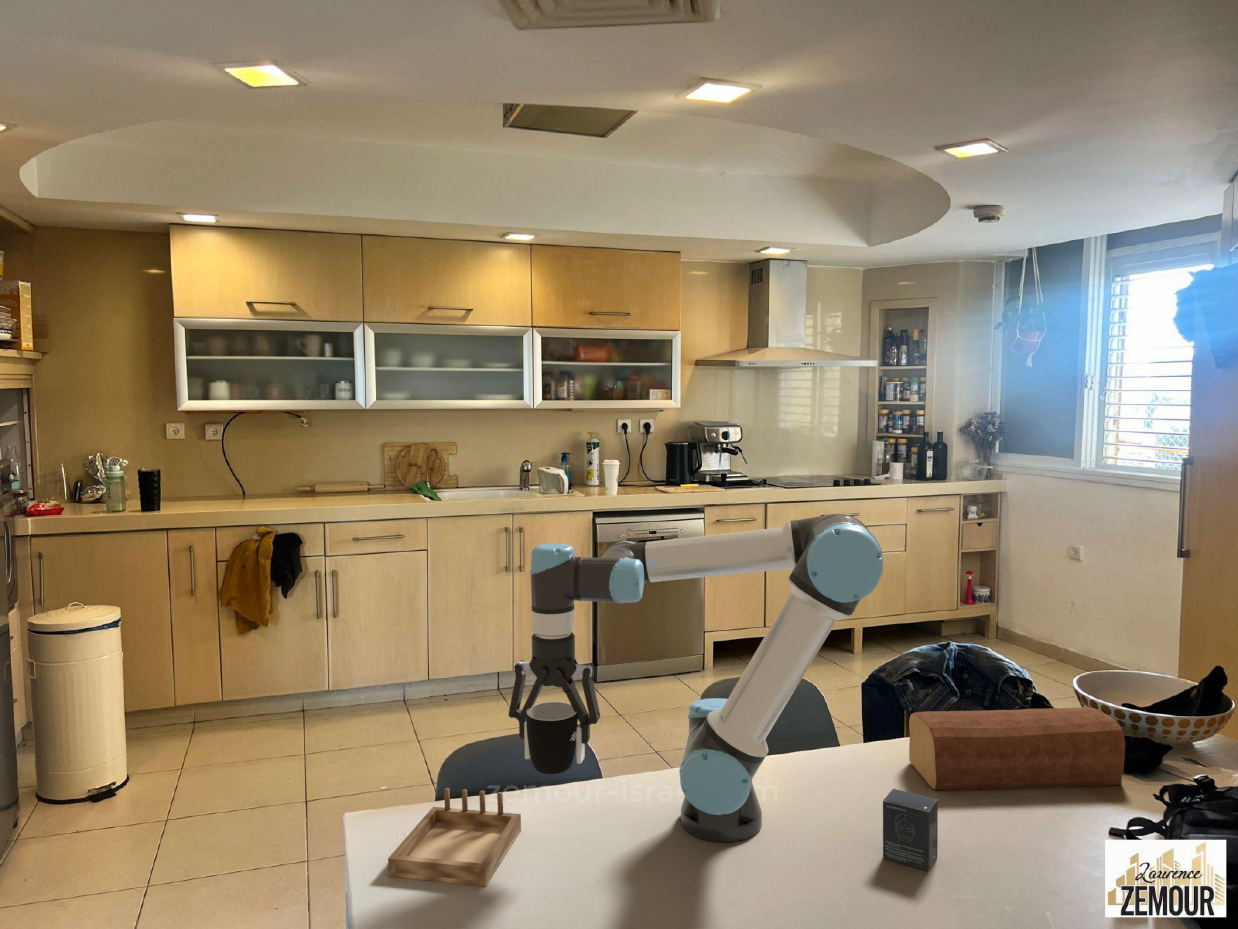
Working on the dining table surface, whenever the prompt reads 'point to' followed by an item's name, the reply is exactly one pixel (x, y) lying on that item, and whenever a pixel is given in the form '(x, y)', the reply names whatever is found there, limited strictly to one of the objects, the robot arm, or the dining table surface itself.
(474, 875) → the rack
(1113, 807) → the dining table surface
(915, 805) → the box
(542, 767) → the mug
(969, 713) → the bread
